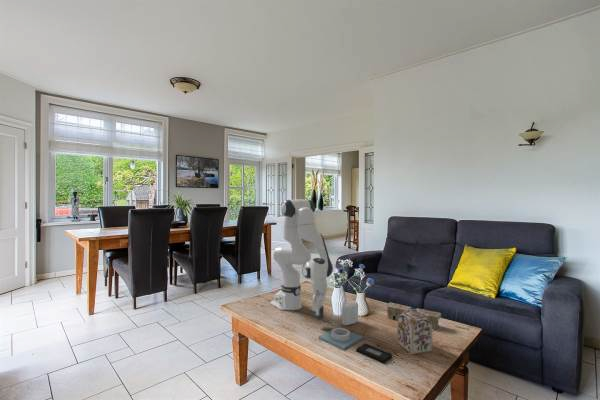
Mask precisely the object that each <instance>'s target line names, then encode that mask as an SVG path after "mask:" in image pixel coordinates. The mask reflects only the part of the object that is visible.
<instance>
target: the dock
mask: <svg viewBox="0 0 600 400" xmlns="http://www.w3.org/2000/svg"><path fill="white" fill-rule="evenodd" d="M318 339H319V340H321V341H323V342H326V343H328V344H330V345H332V346H334V347H337V348H338V349H341V350H343V351H345V350H346V349H348V348H349V347H351V346H353V345H355V344H357V343H358V342H360V341H362V340H363V339H364V337H363V336H361V335H359V334H357V333H354V332H351V331H350V330H349V329H347V328H345V327H339V326H338V327H334V328H331V330H329V331H327V332H325V333H324V332H323V334H320V335H318Z"/></svg>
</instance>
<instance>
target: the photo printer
mask: <svg viewBox="0 0 600 400" xmlns="http://www.w3.org/2000/svg"><path fill="white" fill-rule="evenodd" d="M358 322H359V303H358V302H357V301H355V300H350V301H347V302H345V303H343V304H342V306H341V324H342V325H343V326H349V325H352V324H357V323H358Z"/></svg>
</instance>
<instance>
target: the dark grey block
mask: <svg viewBox="0 0 600 400" xmlns="http://www.w3.org/2000/svg"><path fill="white" fill-rule="evenodd" d="M324 309H325V308H324V305H323V304H322V305H321V307H320V309H319V311H320V314H319V315H316V311H314V319H315V320H323V319H324Z"/></svg>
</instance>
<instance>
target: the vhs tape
mask: <svg viewBox="0 0 600 400" xmlns="http://www.w3.org/2000/svg"><path fill="white" fill-rule="evenodd" d="M355 352H356V353H358V354H361V355H363V356H365V357H367V358H369V359H372V360H374V361H377V362H378V363H381V364H382V365H384V364H385V363H387V362H388V361H390V360H391V359H392V358H393V353H389V352H387V351H385V350H382V349H380V348H378V347H375V346H373V345H370V344H368V343H366V342H365V343H364V344H362V345H360V346H359V347H357V348H355Z"/></svg>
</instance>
